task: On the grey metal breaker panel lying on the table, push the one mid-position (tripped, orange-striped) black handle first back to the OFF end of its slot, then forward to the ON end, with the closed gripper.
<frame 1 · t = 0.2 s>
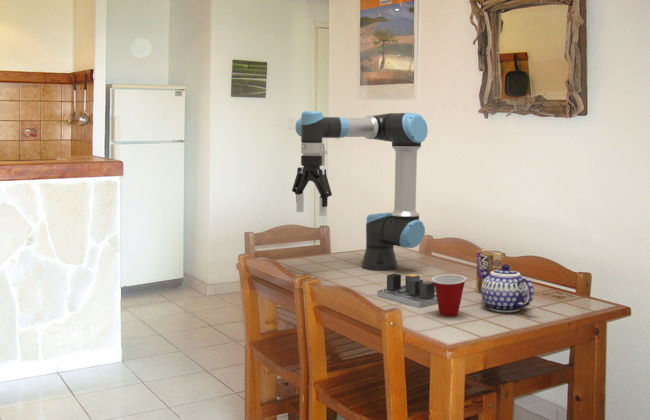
hand: (311, 214, 251), 28 cm above the table, fingers open, 13 cm apart
plastic cup: (447, 314, 222), on the table
breaker panel: (417, 297, 244), on the table
candy box: (487, 294, 250), on the table
teapot: (503, 309, 230), on the table
breaker 2: (412, 282, 245), point 5 cm above the table, slide at 0.0 cm
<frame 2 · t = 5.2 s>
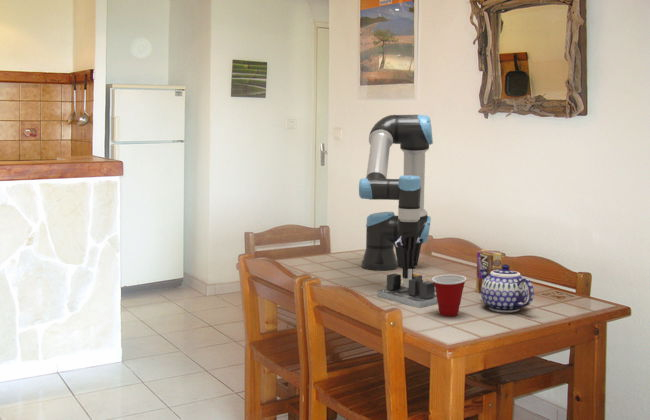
hand: (407, 286, 244), 4 cm above the table, fingers closed
breaker 2: (415, 281, 246), point 5 cm above the table, slide at -1.3 cm, touching gripper
everything else where it was.
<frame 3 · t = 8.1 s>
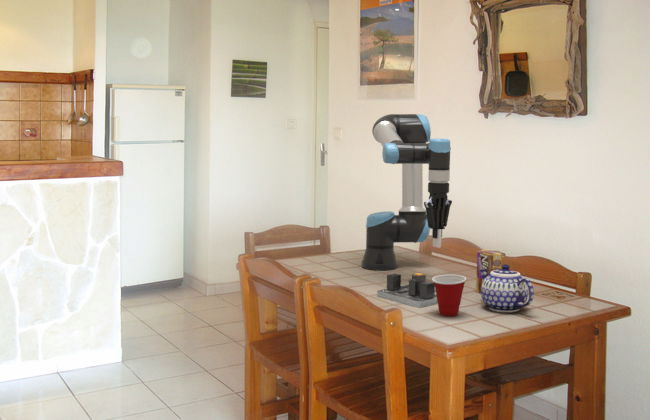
hand: (436, 246, 252), 16 cm above the table, fingers closed
breaker 2: (418, 281, 247), point 5 cm above the table, slide at -3.2 cm
everything else where it was.
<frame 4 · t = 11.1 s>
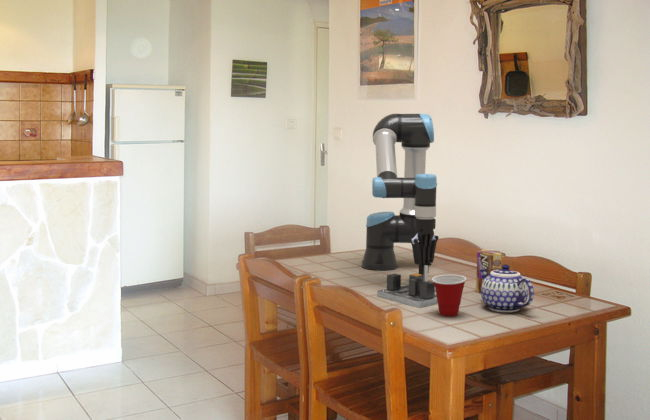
hand: (423, 283, 249), 4 cm above the table, fingers closed
breaker 2: (416, 281, 246), point 5 cm above the table, slide at -1.9 cm, touching gripper
everything else where it was.
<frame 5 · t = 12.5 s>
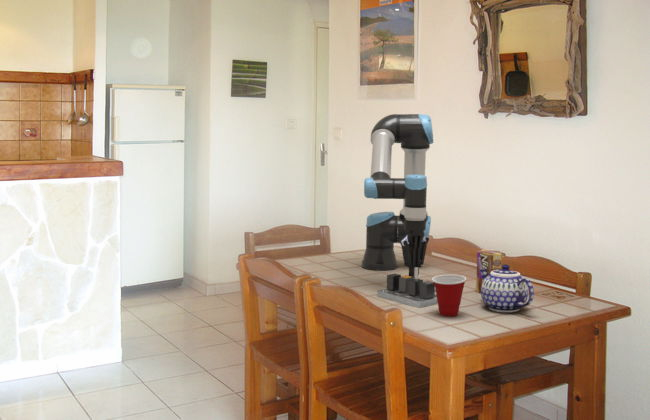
hand: (413, 285, 246), 4 cm above the table, fingers closed
breaker 2: (406, 283, 243), point 5 cm above the table, slide at 3.2 cm, touching gripper
everything else where it was.
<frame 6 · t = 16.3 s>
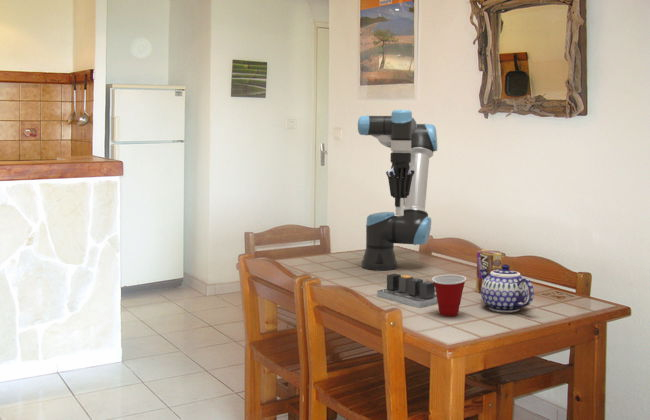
hand: (399, 215, 260), 26 cm above the table, fingers closed
breaker 2: (406, 283, 243), point 5 cm above the table, slide at 3.2 cm
everything else where it was.
at the end: breaker 2 slide at 3.2 cm; breaker 2 touching nothing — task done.
